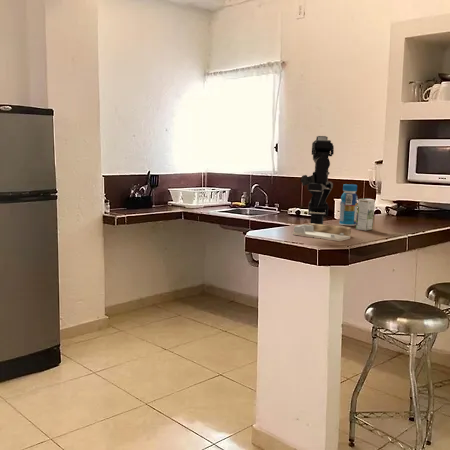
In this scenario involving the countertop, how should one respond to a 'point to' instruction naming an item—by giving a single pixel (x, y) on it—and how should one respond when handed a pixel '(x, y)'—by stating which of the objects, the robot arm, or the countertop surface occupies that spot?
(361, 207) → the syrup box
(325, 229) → the oak rail
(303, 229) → the bracket board
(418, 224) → the countertop surface
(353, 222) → the beverage bottle
